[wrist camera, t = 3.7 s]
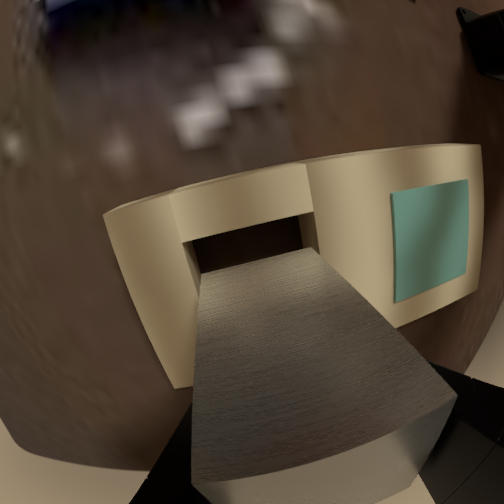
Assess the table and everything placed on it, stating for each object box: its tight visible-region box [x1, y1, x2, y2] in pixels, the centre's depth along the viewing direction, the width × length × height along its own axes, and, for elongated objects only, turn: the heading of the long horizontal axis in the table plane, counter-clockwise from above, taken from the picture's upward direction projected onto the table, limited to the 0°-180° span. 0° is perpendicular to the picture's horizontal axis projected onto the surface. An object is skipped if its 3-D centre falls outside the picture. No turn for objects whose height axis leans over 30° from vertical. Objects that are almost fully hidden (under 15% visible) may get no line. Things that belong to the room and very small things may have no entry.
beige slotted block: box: [103, 143, 484, 389], centre depth 15 cm, size 21×10×3 cm, turn 102°
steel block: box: [191, 247, 458, 504], centre depth 7 cm, size 4×4×8 cm
